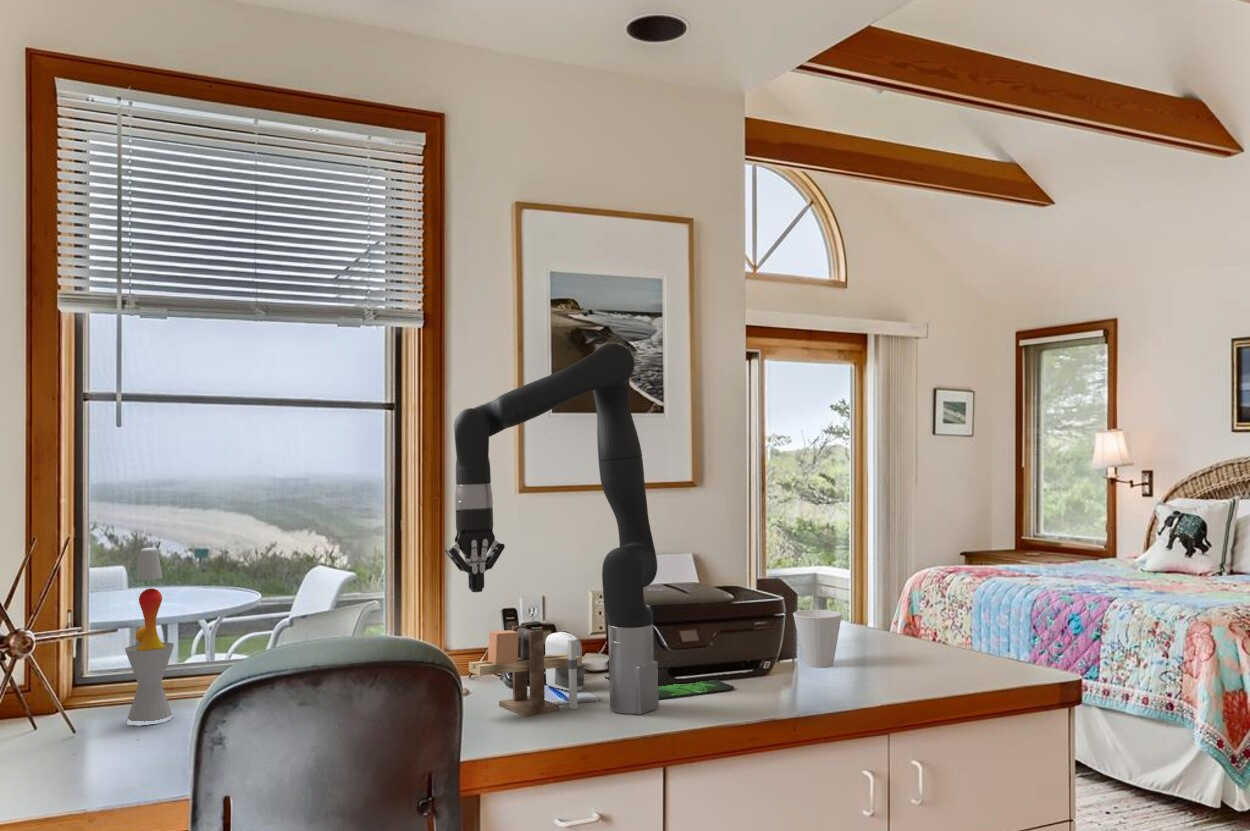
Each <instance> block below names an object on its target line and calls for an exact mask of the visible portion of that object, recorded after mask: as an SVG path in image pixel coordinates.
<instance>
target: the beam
mask: <svg viewBox="0 0 1250 831" xmlns="http://www.w3.org/2000/svg"><path fill="white" fill-rule="evenodd" d="M529 631H534V630H532V629H530V628H529V629H528V628H527V627H526V628H522V627H521V628H518V629H517V631H516V632H519V634H518V639H521V658H518V662H513V663H502V664H494V663H491V662H488V660H481V661H480V660H479V661H468V673H471V674H475V675H477V676H489V675H498V674H499V675H500V674H508V673H510V674H511V673H513V672H521V671H527V672H529ZM567 659H568V653H567V654H556V655H545V654H544V670H546V669H551V668H555V684H556V685H559V686H562V687H565V688H569V668H567ZM576 659H577V687H580V686H583V687H584V684H585V682H584V681H585V664H583V656H582V657H580V656H576Z"/></svg>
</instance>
